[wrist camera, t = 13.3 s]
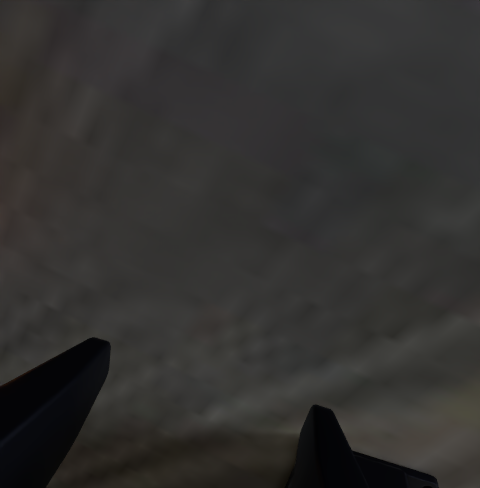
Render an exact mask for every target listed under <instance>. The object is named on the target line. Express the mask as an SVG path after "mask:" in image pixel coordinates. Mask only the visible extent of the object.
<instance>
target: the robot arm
mask: <svg viewBox="0 0 480 488" xmlns="http://www.w3.org/2000/svg"><path fill="white" fill-rule="evenodd" d="M110 350H111V345H110V343H109V342H108V341H105V340H102V339H98V338H95V337H92V338H89V339H87V340H85V341H84V342H82V343H80V344H78V345H76V346H74V347H72V348H71V349H69V350H67V351H65V352H63V353H61V354H59V355H58V356H56V357H54V358H52V359H50V360H48V361H46V362H45V363H43V364H41V365H39V366H37V367H35V368H33V369H32V370H30V371H28V372H26V373H24V374H22V375H20V376H19V377H17V378H15V379H13V380H11V381H9V382H8V383H6V384H4V385H2V386H0V488H46V486H47V485H48V483H49V482H50V480H51V478H52V477H53V475H54V474H55V472H56V471H57V469H58V468H59V466H60V464H61V463H62V461H63V460H64V458H65V457H66V455H67V453H68V452H69V450H70V448H71V447H72V445H73V443H74V441H75V439H76V438H77V436H78V434H79V432H80V430H81V428H82V426H83V424H84V422H85V420H86V418H87V416H88V414H89V412H90V410H91V408H92V406H93V404H94V402H95V400H96V398H97V396H98V394H99V392H100V390H101V388H102V386H103V384H104V382H105V379H106V377H107V374H108V371H109V362H110ZM285 488H439V487H438V483H437V479H436V478H435V477H433V476H431V475H428V474H425V473H422V472H419V471H416V470H412V469H409V468H406V467H403V466H399V465H396V464H393V463H390V462H386V461H383V460H380V459H377V458H374V457H370V456H367V455H364V454H361V453H357V452H354V451H352V450H351V448H350V446H349V444H348V442H347V440H346V438H345V435H344V433H343V431H342V429H341V427H340V425H339V423H338V421H337V419H336V417H335V415H334V413H333V411H332V410H331V409H328V408H325V407H322V406H319V405H313V406H312V407H311V409H310V411H309V413H308V415H307V418H306V420H305V422H304V425H303V427H302V430H301V433H300V437H299V443H298V450H297V456H296V463H295V466H294V468H293V470H292V472H291V475H290V477H289V479H288V481H287V484H286V486H285Z"/></svg>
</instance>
